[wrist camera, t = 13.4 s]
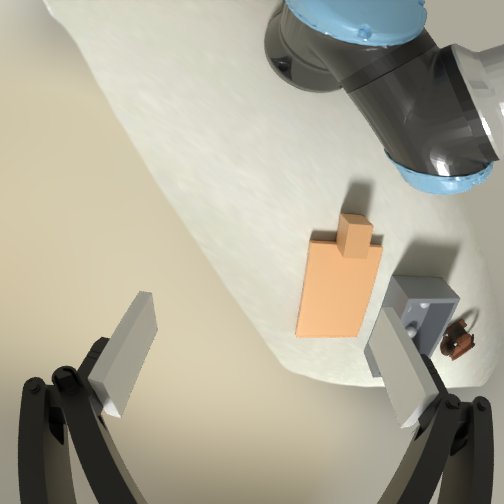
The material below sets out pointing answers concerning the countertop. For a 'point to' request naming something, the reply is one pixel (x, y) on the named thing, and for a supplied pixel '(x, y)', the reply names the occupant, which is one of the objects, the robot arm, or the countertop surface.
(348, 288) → the lid
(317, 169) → the countertop surface
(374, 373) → the tub
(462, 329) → the brown jagged ring
